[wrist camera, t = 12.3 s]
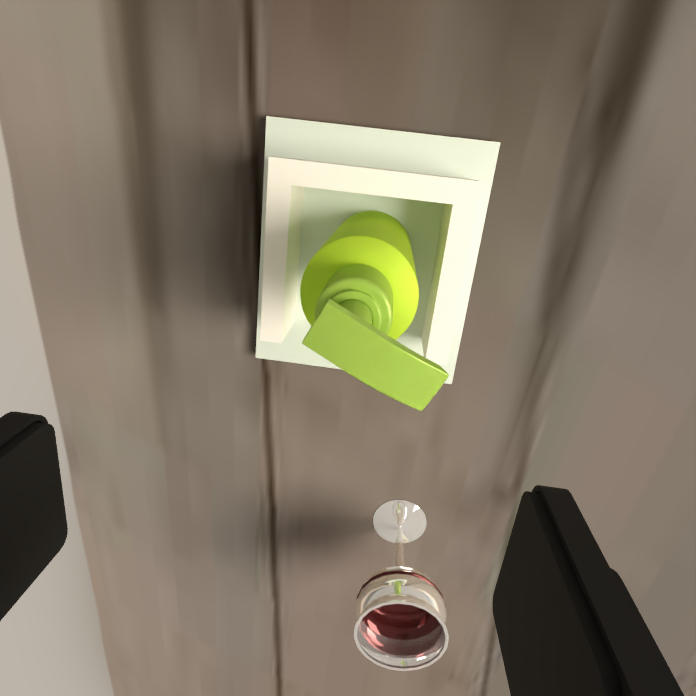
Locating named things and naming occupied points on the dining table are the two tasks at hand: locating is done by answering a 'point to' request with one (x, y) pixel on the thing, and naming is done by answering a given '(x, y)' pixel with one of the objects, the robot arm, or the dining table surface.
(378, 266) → the soap dispenser
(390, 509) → the wineglass
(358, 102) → the dining table surface
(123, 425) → the dining table surface
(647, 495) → the dining table surface
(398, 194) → the u rest
